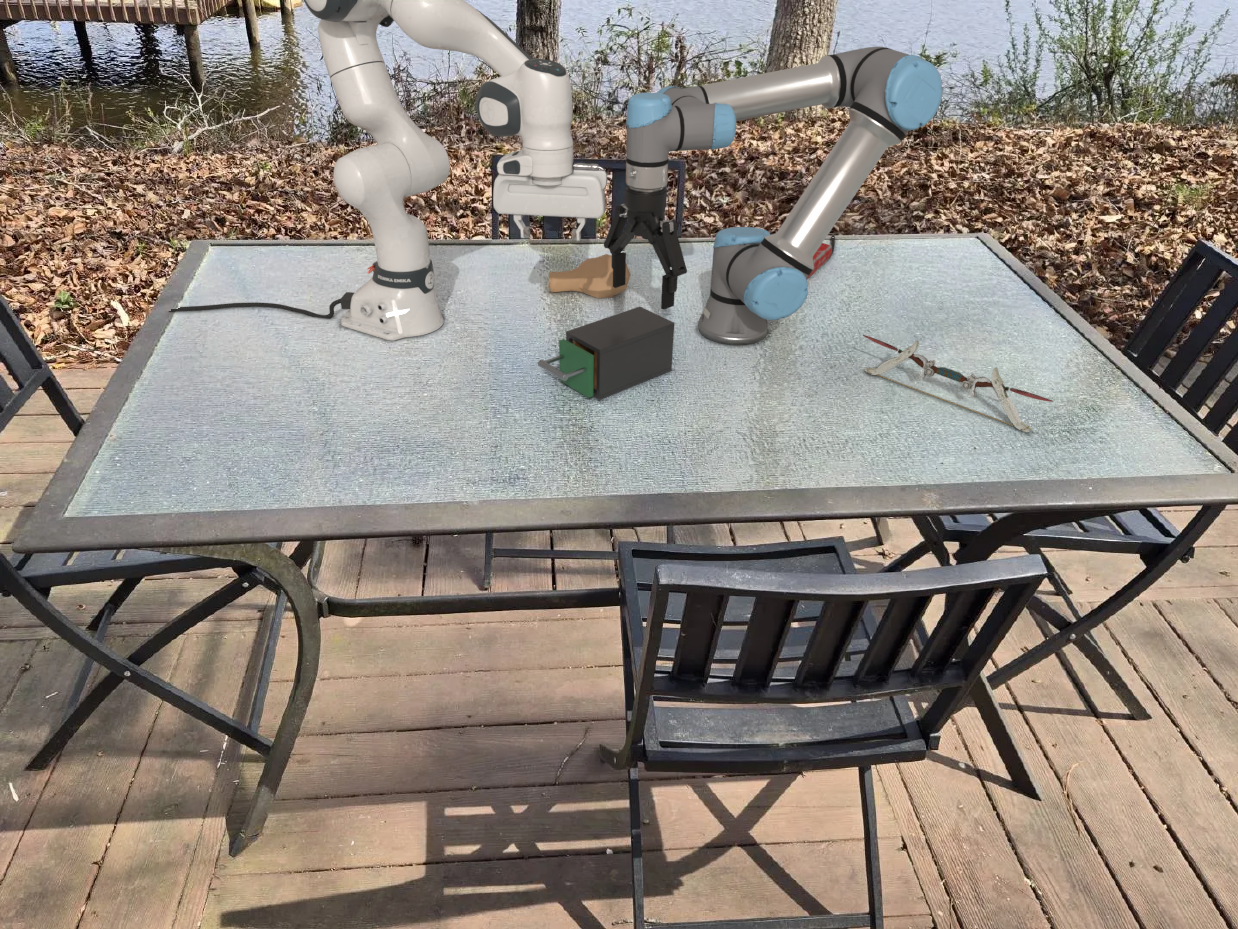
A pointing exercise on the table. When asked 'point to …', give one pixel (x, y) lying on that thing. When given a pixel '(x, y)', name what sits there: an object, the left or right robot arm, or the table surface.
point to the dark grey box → (627, 348)
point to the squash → (589, 278)
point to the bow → (967, 383)
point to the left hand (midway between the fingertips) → (550, 238)
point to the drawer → (574, 367)
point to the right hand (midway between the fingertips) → (642, 296)
